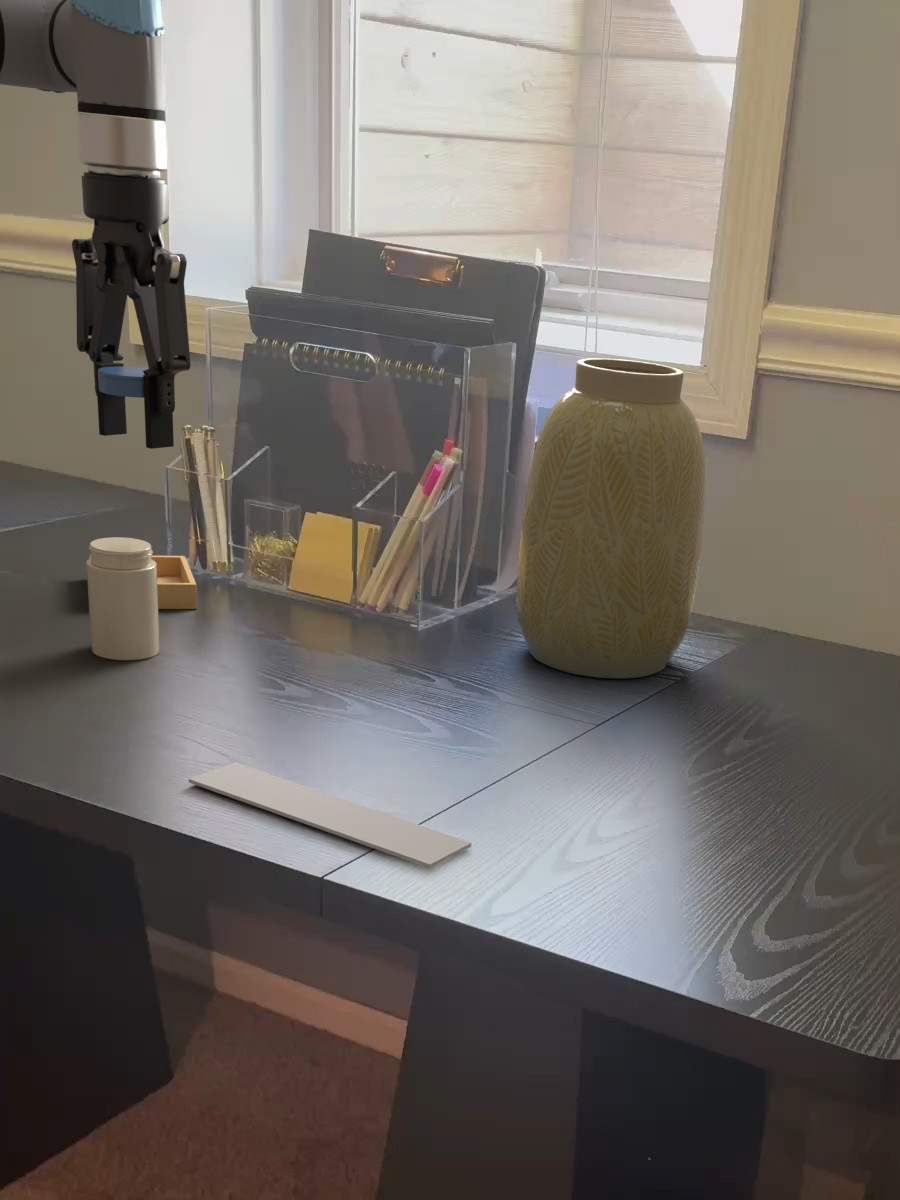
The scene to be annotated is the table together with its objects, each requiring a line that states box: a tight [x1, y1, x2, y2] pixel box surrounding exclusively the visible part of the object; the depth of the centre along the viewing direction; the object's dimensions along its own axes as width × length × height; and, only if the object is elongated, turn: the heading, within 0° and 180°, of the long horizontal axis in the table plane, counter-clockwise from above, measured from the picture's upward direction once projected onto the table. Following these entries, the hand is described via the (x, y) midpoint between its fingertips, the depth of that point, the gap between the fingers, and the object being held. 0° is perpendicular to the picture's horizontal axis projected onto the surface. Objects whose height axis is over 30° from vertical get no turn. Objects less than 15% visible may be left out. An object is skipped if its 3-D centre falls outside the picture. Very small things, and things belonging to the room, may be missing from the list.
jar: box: [85, 536, 161, 661], centre depth 131 cm, size 6×6×10 cm
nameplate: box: [188, 761, 472, 869], centre depth 105 cm, size 22×1×5 cm
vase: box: [515, 358, 706, 680], centre depth 138 cm, size 17×17×27 cm
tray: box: [89, 554, 198, 610], centre depth 149 cm, size 11×10×2 cm
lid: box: [98, 365, 149, 399], centre depth 140 cm, size 7×6×2 cm
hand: (136, 440), depth 142 cm, fingers closed on lid, 6 cm apart
